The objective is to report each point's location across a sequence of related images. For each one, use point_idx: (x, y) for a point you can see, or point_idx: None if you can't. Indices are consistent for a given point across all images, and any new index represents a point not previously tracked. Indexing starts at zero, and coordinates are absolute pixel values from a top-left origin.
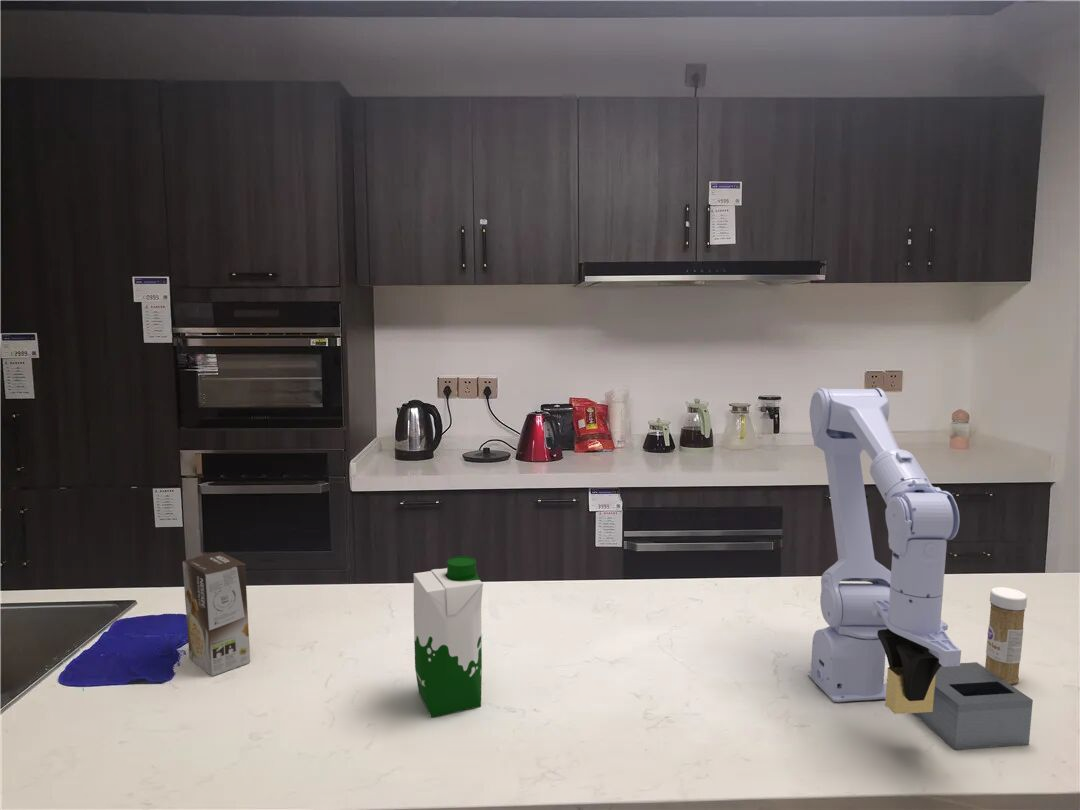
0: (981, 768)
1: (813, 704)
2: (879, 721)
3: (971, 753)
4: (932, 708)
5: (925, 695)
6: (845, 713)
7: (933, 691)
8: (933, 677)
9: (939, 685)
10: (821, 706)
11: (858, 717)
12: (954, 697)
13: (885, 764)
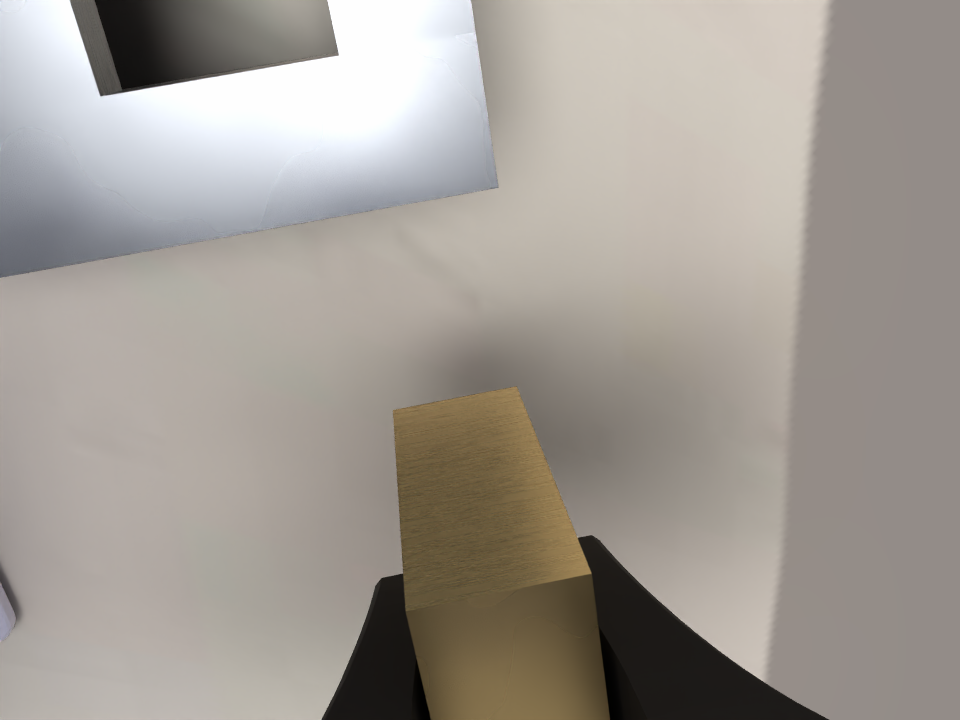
0: (638, 63)
1: (62, 715)
2: (185, 444)
3: (488, 41)
4: (521, 400)
5: (615, 558)
6: (128, 591)
7: (550, 474)
8: (720, 652)
9: (141, 198)
10: (75, 684)
11: (160, 539)
12: (372, 164)
13: (595, 537)
